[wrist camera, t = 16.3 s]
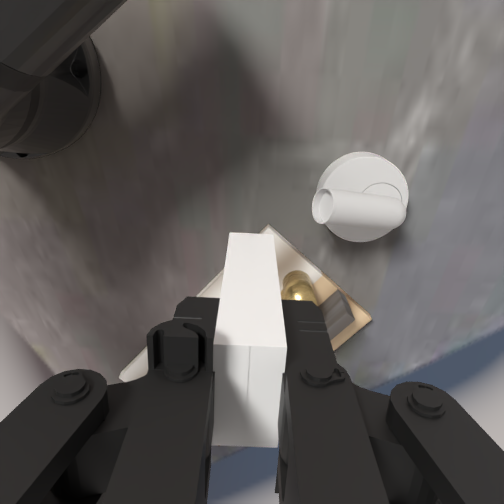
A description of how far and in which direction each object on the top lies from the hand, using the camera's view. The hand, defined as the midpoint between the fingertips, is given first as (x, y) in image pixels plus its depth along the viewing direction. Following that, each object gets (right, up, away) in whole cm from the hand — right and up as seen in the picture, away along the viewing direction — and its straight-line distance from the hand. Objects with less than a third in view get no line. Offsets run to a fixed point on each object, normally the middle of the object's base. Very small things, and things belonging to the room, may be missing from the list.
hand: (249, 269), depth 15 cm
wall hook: (+10, +7, +29) cm, 32 cm away
